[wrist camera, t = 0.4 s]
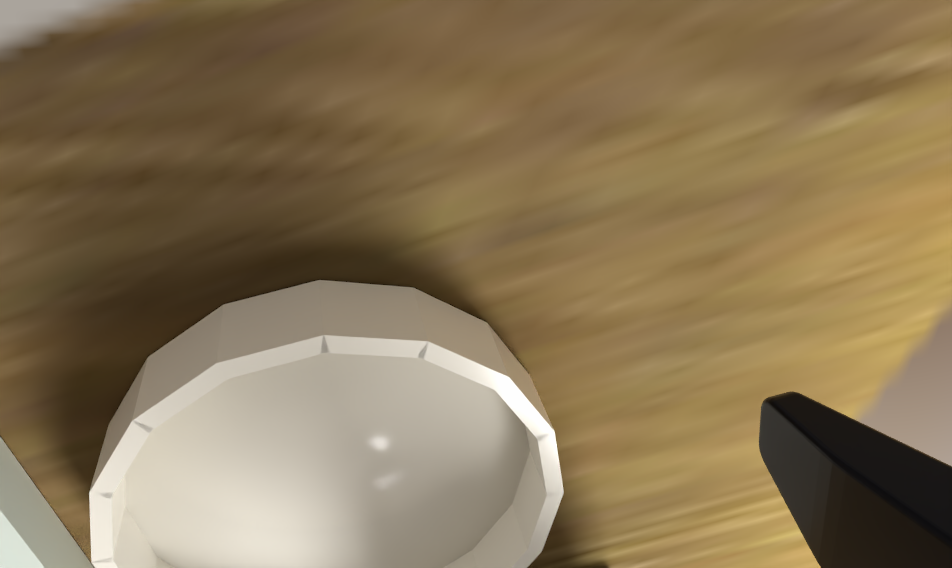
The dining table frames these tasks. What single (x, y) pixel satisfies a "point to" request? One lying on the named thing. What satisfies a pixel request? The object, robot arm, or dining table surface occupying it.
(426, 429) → the bowl
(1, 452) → the tray
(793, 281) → the dining table surface
